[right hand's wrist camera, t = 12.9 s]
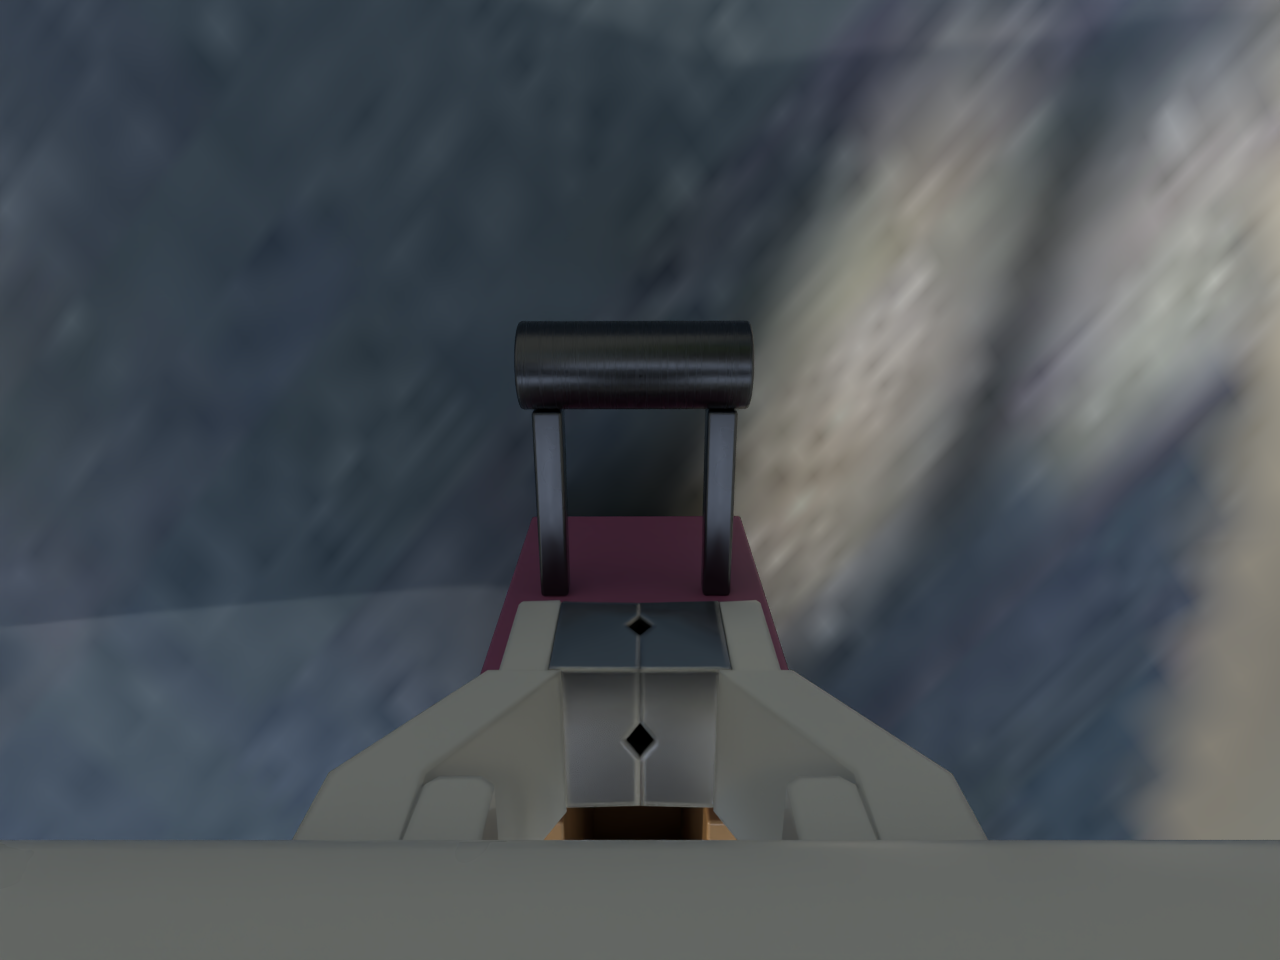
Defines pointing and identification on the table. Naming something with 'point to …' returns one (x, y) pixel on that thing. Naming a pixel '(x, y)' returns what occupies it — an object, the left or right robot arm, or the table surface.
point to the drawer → (634, 545)
